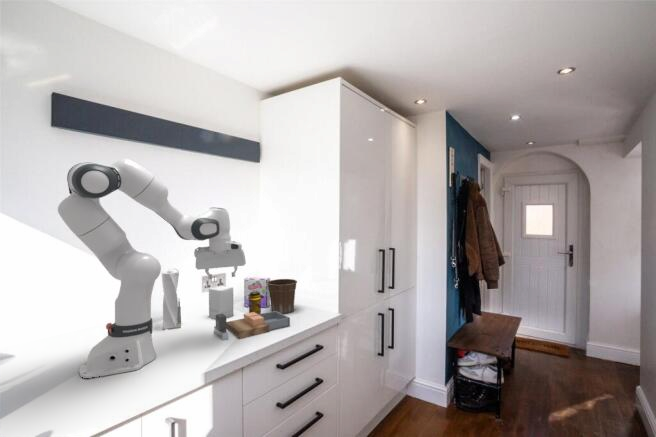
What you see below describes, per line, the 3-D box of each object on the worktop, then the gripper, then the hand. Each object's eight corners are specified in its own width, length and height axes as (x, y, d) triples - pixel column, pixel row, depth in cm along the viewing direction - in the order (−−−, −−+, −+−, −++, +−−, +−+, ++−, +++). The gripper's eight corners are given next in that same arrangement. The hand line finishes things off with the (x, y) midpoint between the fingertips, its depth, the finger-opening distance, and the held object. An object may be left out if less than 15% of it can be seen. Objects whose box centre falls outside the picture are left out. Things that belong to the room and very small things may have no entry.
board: (239, 338, 135) (239, 331, 135) (226, 328, 148) (226, 321, 148) (269, 331, 144) (269, 325, 144) (254, 322, 157) (254, 316, 157)
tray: (268, 331, 144) (268, 322, 144) (255, 323, 156) (255, 314, 156) (289, 326, 151) (289, 317, 151) (275, 318, 162) (275, 310, 162)
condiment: (263, 316, 167) (263, 292, 167) (247, 318, 162) (247, 295, 162) (258, 312, 173) (258, 290, 173) (242, 315, 168) (242, 292, 168)
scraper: (221, 341, 133) (221, 319, 133) (213, 333, 142) (213, 313, 142) (228, 339, 135) (228, 318, 135) (220, 331, 144) (220, 311, 144)
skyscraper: (180, 329, 148) (180, 268, 148) (160, 331, 144) (160, 269, 144) (181, 323, 155) (181, 265, 155) (162, 325, 152) (162, 266, 152)
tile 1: (248, 323, 147) (248, 316, 147) (243, 320, 151) (243, 313, 151) (258, 320, 150) (258, 314, 150) (253, 318, 154) (253, 311, 154)
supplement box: (234, 315, 167) (234, 287, 167) (220, 320, 160) (220, 290, 160) (222, 313, 172) (222, 285, 172) (208, 317, 164) (208, 288, 164)
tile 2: (253, 326, 142) (253, 319, 142) (248, 323, 146) (248, 317, 146) (263, 324, 145) (263, 317, 145) (259, 321, 149) (259, 315, 149)
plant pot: (267, 316, 166) (267, 285, 166) (266, 308, 182) (266, 279, 182) (299, 314, 170) (299, 283, 170) (295, 306, 185) (295, 278, 185)
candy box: (243, 307, 183) (243, 278, 183) (248, 304, 189) (248, 276, 189) (266, 308, 181) (266, 279, 181) (270, 305, 187) (270, 277, 187)
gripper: (192, 248, 130) (195, 282, 131) (244, 244, 136) (246, 277, 137) (194, 246, 136) (196, 278, 137) (244, 243, 142) (246, 273, 143)
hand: (222, 277), depth 137 cm, fingers open, 8 cm apart
